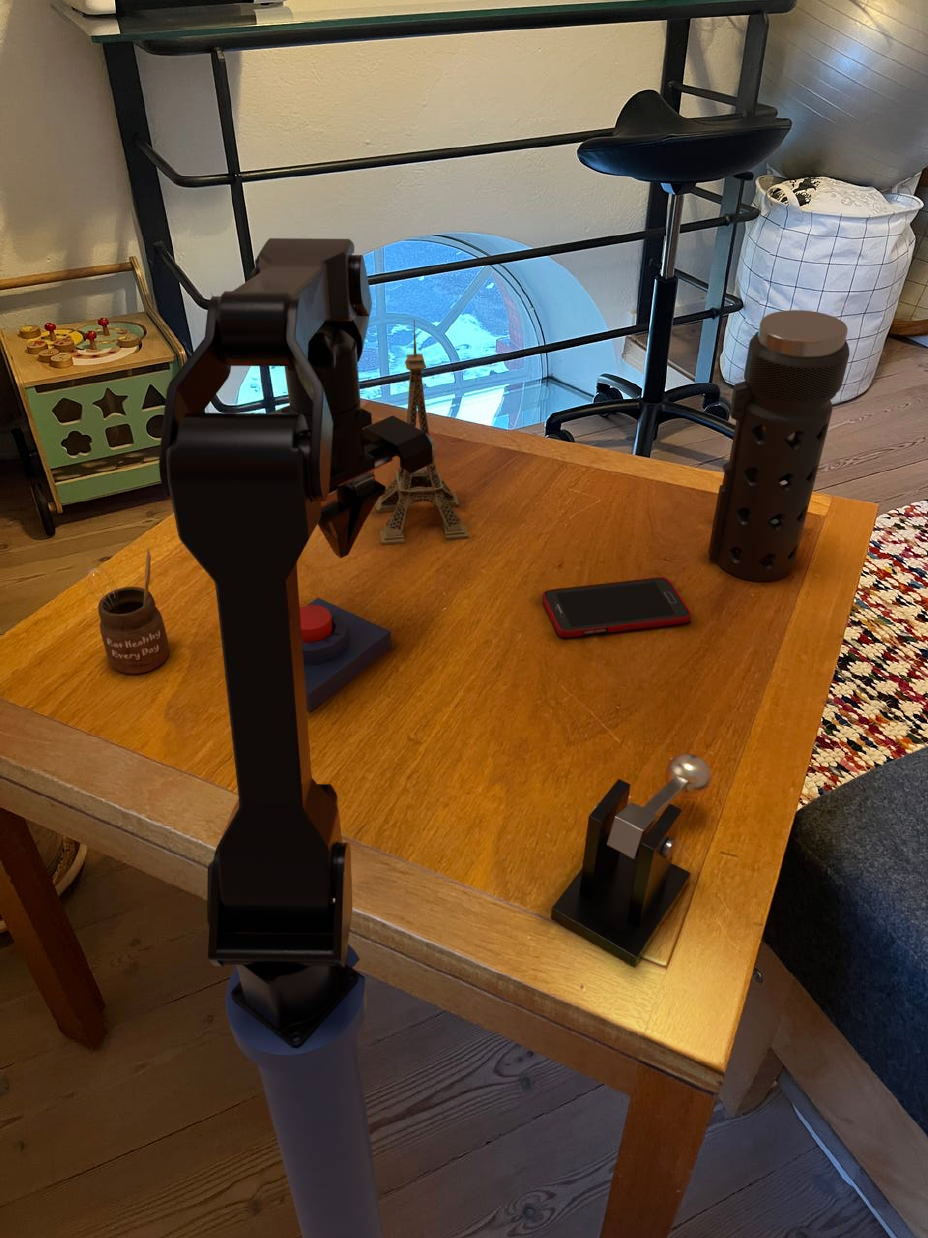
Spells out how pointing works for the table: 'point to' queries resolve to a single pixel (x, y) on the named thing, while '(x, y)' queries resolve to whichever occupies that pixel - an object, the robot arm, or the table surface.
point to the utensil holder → (132, 627)
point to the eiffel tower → (418, 474)
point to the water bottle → (777, 441)
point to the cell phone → (615, 607)
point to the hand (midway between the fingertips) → (341, 554)
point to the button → (315, 623)
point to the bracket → (623, 883)
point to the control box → (340, 653)
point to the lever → (659, 803)
